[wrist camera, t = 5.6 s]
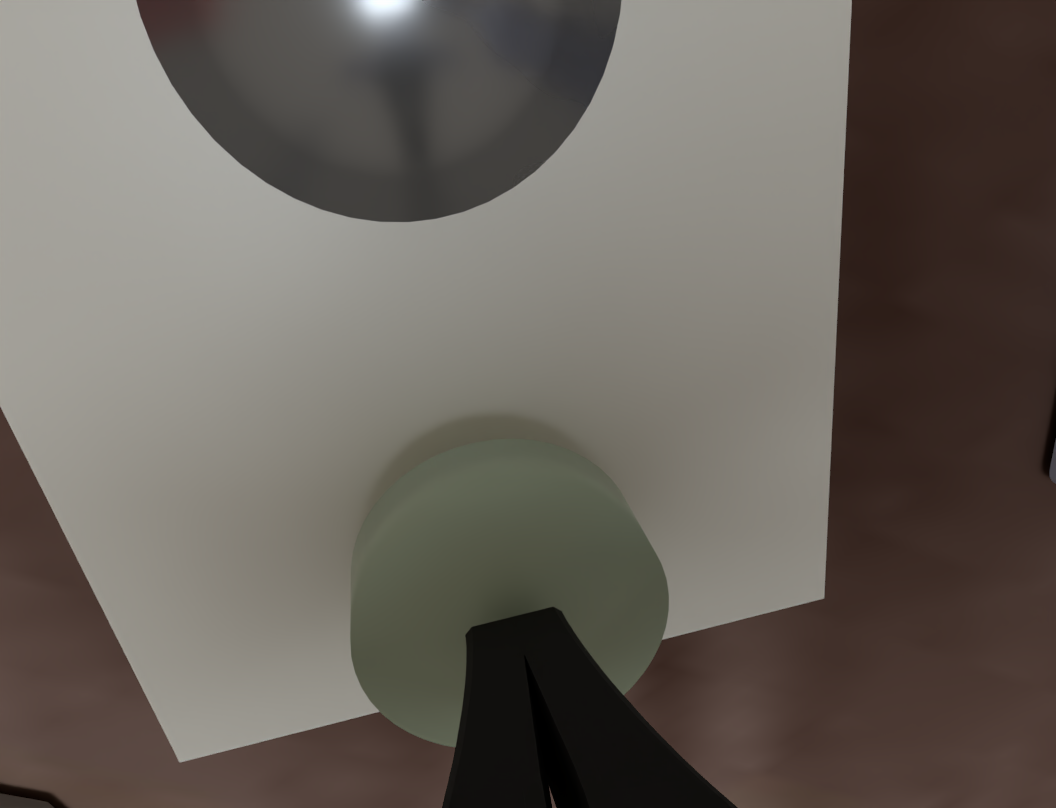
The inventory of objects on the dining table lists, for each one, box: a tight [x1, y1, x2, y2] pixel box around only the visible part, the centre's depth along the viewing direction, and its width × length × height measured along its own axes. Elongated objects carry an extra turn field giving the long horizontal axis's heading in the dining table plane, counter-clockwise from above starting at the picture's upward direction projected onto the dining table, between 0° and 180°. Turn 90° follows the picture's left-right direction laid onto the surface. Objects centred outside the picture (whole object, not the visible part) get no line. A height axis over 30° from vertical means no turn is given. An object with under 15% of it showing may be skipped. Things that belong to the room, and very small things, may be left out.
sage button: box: [350, 439, 669, 747], centre depth 13 cm, size 5×5×2 cm
